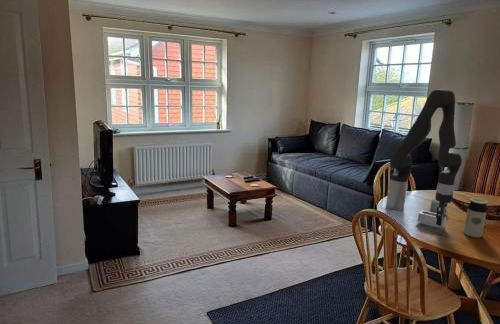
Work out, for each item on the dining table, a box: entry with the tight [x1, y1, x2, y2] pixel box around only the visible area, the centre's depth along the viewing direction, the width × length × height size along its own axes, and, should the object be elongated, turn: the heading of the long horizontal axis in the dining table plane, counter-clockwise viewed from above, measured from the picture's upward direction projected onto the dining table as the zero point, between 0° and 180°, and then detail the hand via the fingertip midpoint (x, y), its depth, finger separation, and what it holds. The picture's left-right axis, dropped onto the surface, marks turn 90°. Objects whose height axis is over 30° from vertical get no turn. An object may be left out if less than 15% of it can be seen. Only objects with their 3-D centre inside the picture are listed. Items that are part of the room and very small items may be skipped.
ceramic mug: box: [429, 198, 440, 213], centre depth 210 cm, size 11×8×8 cm
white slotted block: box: [417, 209, 447, 227], centre depth 188 cm, size 12×6×4 cm, turn 52°
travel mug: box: [463, 197, 489, 238], centre depth 179 cm, size 8×8×18 cm
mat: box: [415, 221, 446, 234], centre depth 189 cm, size 12×10×1 cm
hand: (439, 223), depth 186 cm, fingers closed on white slotted block, 5 cm apart
